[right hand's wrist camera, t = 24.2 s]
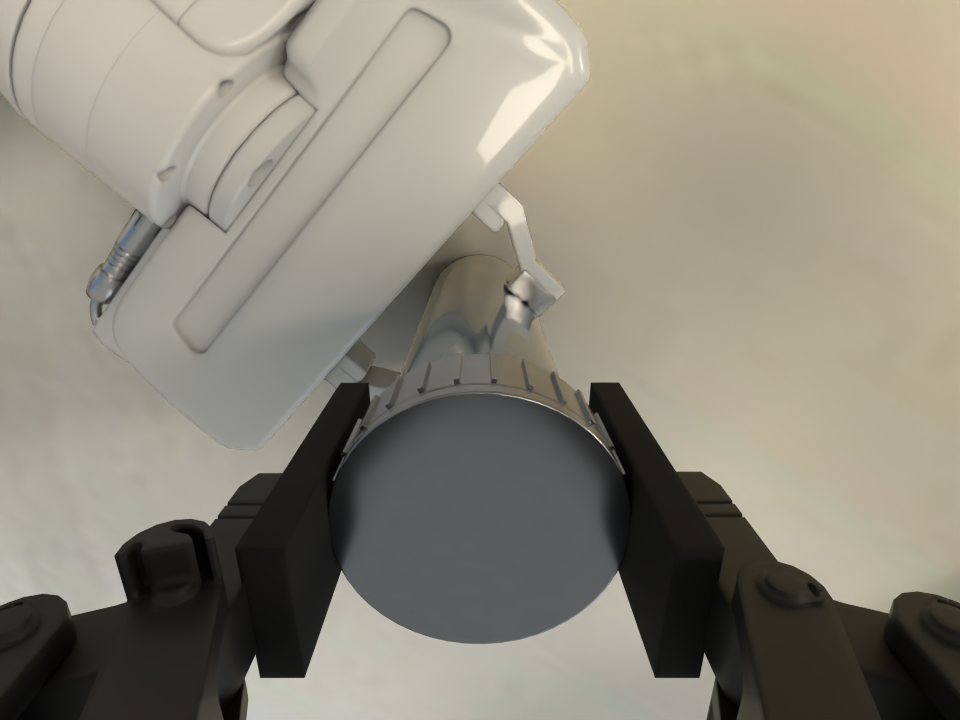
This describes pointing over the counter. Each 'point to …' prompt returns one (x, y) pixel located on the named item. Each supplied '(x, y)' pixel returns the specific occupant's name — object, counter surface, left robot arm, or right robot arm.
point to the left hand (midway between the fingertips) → (496, 356)
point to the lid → (479, 501)
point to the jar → (477, 317)
